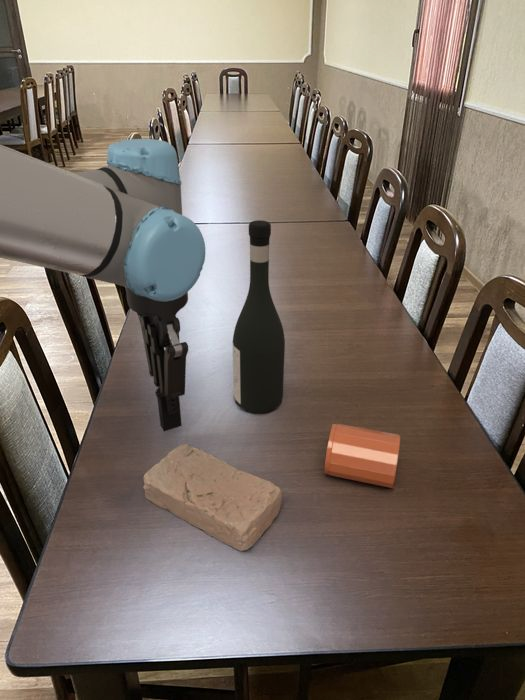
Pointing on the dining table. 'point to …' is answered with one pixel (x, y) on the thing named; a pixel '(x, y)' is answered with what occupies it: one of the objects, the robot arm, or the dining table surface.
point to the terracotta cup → (362, 455)
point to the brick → (213, 496)
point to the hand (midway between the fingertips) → (171, 425)
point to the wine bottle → (258, 334)
